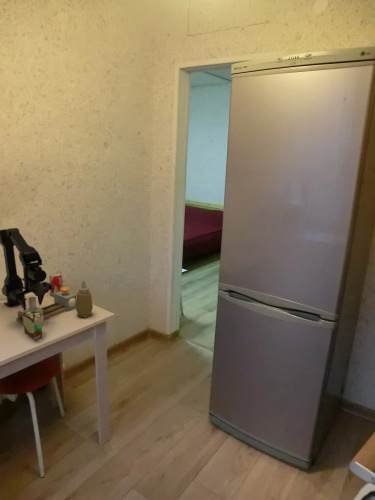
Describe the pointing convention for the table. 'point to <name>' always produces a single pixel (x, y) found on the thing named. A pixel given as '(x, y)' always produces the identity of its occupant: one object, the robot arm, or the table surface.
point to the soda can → (55, 282)
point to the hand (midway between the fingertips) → (32, 307)
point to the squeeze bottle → (84, 301)
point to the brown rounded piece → (64, 290)
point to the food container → (33, 324)
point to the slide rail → (45, 312)
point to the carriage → (33, 305)
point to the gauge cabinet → (65, 300)
